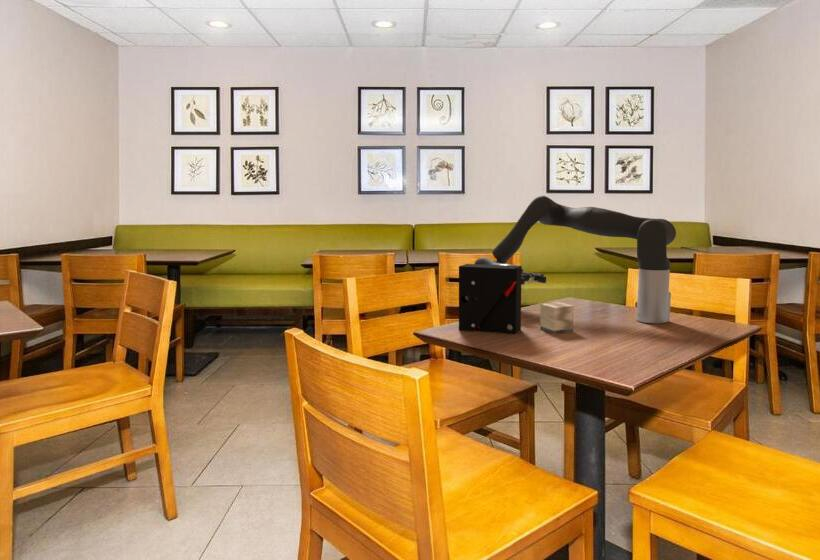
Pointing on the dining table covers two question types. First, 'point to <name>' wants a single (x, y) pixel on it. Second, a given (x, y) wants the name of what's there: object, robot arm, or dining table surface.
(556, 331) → the birch block
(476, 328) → the electrical component
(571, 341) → the dining table surface
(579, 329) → the dining table surface
